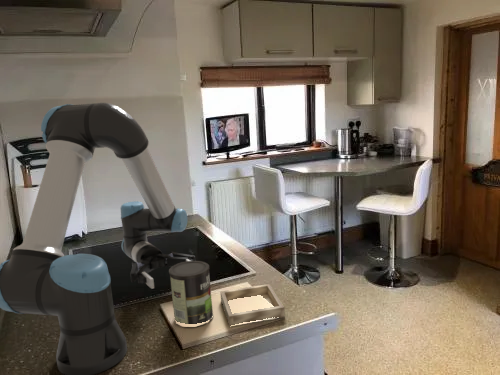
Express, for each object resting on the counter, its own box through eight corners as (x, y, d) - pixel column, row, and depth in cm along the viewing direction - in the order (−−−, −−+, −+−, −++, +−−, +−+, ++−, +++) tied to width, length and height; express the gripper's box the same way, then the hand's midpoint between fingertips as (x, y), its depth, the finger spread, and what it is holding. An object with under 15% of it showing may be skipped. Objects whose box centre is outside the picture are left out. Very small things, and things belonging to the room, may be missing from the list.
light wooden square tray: (229, 327, 106) (229, 316, 105) (221, 301, 120) (220, 291, 119) (284, 317, 109) (284, 307, 108) (270, 293, 122) (269, 283, 122)
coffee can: (217, 309, 115) (213, 260, 112) (206, 329, 105) (202, 276, 102) (182, 307, 117) (177, 259, 114) (168, 327, 108) (162, 275, 105)
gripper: (183, 256, 142) (215, 276, 125) (109, 278, 129) (133, 303, 111) (181, 235, 141) (213, 252, 123) (106, 254, 127) (130, 276, 110)
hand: (175, 276), depth 117 cm, fingers open, 13 cm apart
